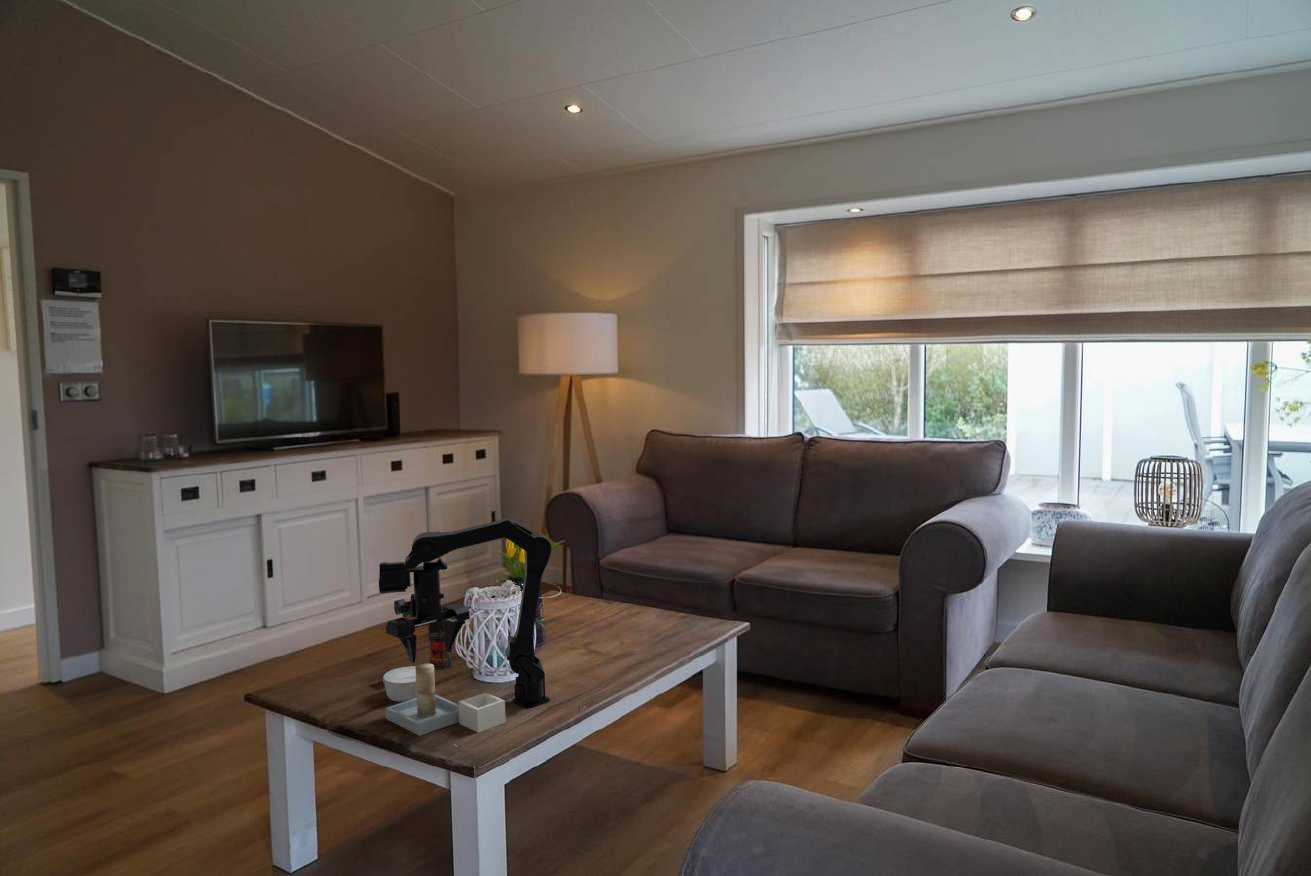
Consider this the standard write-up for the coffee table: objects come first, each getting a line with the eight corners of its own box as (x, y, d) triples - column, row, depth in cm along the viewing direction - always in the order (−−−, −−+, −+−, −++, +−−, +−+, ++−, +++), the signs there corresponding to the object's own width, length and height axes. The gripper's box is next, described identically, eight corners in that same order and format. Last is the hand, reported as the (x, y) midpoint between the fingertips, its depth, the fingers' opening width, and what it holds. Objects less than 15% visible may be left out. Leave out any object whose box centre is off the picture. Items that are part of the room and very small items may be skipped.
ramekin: (405, 707, 208) (404, 685, 207) (373, 698, 214) (372, 676, 214) (441, 692, 217) (440, 671, 217) (410, 683, 223) (409, 663, 223)
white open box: (486, 714, 202) (485, 692, 202) (505, 722, 197) (504, 700, 197) (459, 723, 197) (458, 701, 197) (478, 732, 192) (477, 710, 192)
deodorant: (425, 666, 236) (423, 610, 235) (445, 660, 240) (443, 605, 239) (437, 671, 232) (435, 614, 231) (457, 665, 236) (455, 609, 235)
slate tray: (432, 703, 210) (432, 693, 209) (467, 719, 200) (466, 708, 200) (386, 718, 201) (385, 708, 201) (419, 735, 191) (418, 724, 191)
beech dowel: (429, 709, 203) (427, 662, 202) (439, 714, 200) (437, 666, 200) (414, 714, 200) (412, 666, 199) (423, 719, 198) (421, 670, 197)
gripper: (442, 576, 214) (445, 640, 216) (371, 592, 201) (374, 660, 202) (469, 583, 207) (472, 649, 208) (397, 600, 193) (401, 671, 194)
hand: (430, 657), depth 203 cm, fingers open, 9 cm apart
